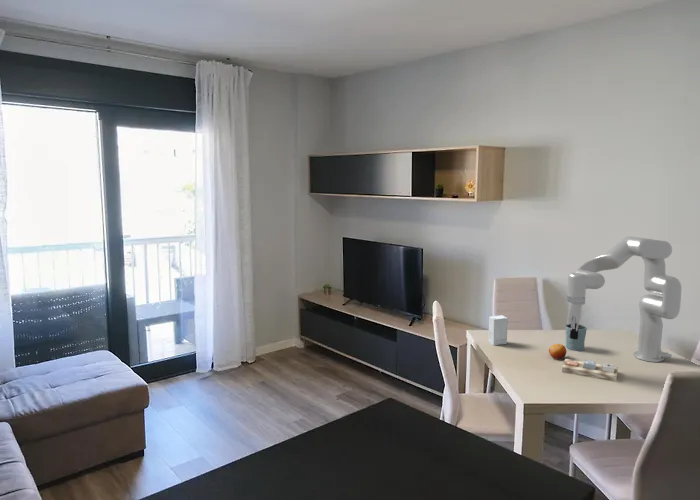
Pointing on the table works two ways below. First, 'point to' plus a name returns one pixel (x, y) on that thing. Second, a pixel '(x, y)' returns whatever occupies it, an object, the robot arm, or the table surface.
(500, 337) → the skincare box
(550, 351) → the fruit
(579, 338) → the grey-blue cup
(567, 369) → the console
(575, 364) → the key
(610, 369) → the key
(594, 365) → the key
